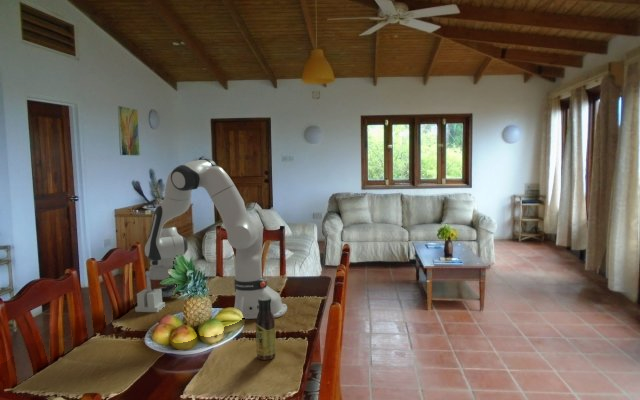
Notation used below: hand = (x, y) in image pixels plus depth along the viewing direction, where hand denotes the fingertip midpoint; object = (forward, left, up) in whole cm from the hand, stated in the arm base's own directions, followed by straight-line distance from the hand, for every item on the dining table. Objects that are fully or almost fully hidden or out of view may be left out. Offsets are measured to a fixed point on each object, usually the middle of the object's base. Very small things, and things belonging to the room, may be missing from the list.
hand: (171, 288), depth 217 cm
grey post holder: (0, +20, -3) cm, 21 cm away
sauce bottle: (-63, +61, -3) cm, 88 cm away
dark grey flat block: (0, +4, -1) cm, 4 cm away
